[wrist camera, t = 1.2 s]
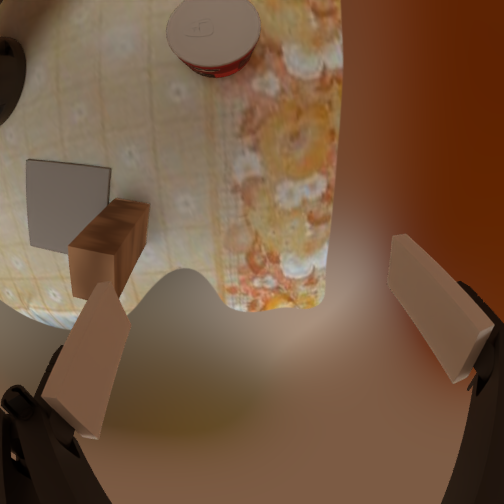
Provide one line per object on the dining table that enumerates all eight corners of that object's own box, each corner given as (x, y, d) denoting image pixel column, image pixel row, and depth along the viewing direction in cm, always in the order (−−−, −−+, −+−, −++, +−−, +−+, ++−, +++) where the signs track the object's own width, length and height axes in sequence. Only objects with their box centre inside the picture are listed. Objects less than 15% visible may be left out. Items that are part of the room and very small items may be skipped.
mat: (32, 244, 37) (30, 245, 37) (28, 159, 31) (26, 160, 31) (107, 260, 40) (105, 262, 39) (111, 168, 34) (109, 169, 33)
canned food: (174, 39, 27) (151, 15, 17) (235, 12, 26) (238, -23, 16) (200, 89, 30) (188, 82, 21) (262, 62, 29) (276, 44, 20)
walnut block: (113, 237, 38) (72, 296, 26) (115, 197, 36) (67, 245, 23) (146, 243, 39) (115, 306, 27) (150, 203, 37) (114, 255, 24)
